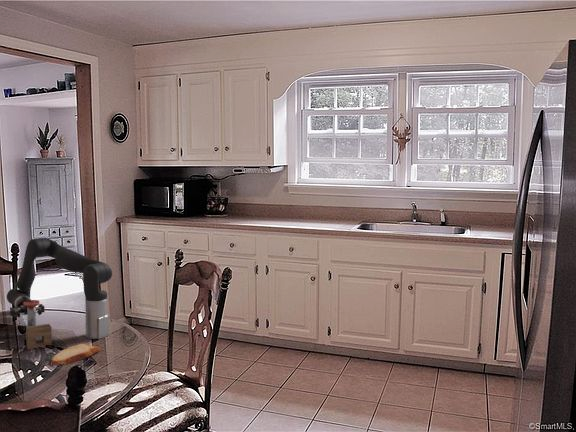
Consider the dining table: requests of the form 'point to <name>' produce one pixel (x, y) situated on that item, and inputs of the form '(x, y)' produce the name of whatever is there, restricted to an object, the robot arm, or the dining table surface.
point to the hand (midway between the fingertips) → (29, 314)
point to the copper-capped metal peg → (31, 311)
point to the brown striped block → (38, 331)
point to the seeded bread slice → (74, 354)
